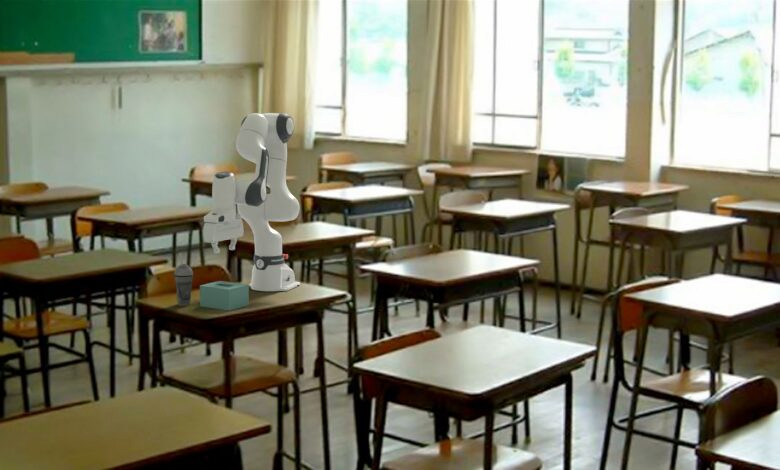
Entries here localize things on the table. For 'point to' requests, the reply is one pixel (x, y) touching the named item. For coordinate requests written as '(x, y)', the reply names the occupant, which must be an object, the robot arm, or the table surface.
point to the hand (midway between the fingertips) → (224, 251)
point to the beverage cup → (183, 283)
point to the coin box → (224, 295)
